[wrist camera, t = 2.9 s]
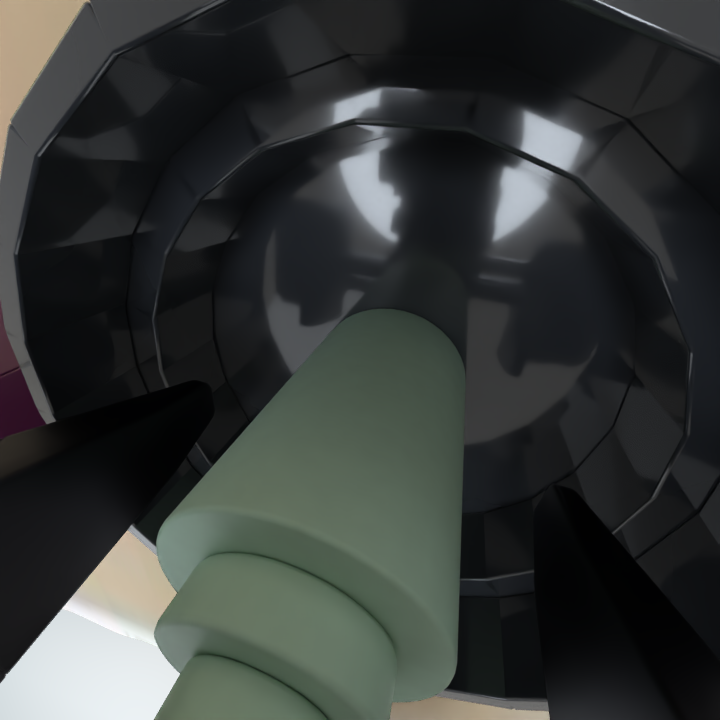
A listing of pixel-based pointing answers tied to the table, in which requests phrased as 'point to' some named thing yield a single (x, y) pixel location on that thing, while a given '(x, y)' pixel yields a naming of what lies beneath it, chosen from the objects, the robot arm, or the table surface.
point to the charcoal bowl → (399, 251)
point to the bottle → (326, 539)
